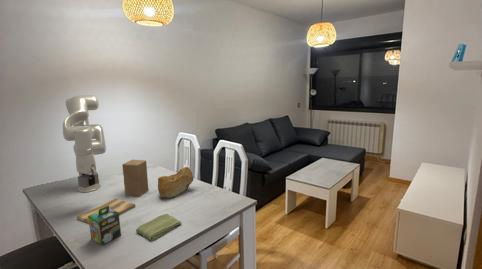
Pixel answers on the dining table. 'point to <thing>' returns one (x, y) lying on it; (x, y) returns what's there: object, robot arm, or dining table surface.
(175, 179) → the rough brown rock
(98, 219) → the chalk box
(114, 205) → the board
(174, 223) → the washcloth
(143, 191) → the wooden block
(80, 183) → the block
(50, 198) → the dining table surface
